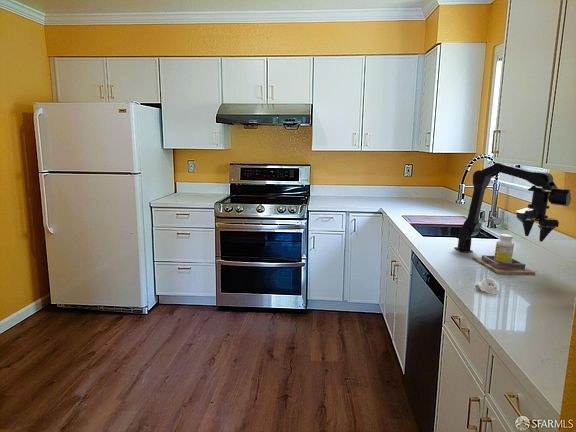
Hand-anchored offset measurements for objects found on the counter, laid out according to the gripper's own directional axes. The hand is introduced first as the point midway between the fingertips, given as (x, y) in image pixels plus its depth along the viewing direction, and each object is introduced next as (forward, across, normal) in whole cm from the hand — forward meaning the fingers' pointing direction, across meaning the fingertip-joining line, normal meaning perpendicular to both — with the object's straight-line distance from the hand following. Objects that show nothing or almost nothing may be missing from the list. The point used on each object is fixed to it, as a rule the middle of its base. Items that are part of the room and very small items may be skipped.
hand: (533, 238), depth 170 cm
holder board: (+13, 0, -12) cm, 18 cm away
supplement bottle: (+12, 0, -12) cm, 17 cm away
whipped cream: (+13, +28, -35) cm, 47 cm away
